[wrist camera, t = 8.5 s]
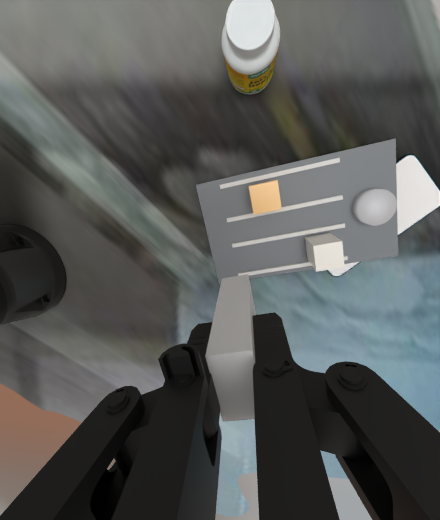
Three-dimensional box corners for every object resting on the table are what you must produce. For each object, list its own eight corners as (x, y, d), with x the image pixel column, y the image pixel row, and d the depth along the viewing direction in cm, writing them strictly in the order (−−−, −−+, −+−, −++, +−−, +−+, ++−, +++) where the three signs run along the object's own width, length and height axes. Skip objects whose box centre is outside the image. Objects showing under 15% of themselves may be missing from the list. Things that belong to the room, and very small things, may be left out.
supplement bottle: (252, 29, 28) (253, -43, 19) (284, 68, 29) (299, 16, 20) (218, 70, 30) (204, 21, 21) (249, 106, 30) (248, 74, 21)
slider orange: (253, 210, 31) (253, 214, 27) (249, 185, 30) (248, 186, 26) (277, 205, 31) (281, 209, 26) (273, 180, 30) (277, 179, 26)
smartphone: (407, 150, 30) (298, 236, 35) (412, 149, 29) (300, 238, 34) (443, 200, 31) (333, 278, 36) (448, 201, 30) (335, 280, 35)
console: (220, 277, 37) (216, 289, 33) (199, 184, 34) (192, 185, 30) (388, 250, 33) (407, 260, 29) (384, 141, 30) (406, 135, 26)
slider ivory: (307, 259, 32) (316, 271, 28) (304, 237, 32) (313, 246, 27) (332, 255, 32) (344, 267, 28) (329, 232, 31) (342, 241, 27)
